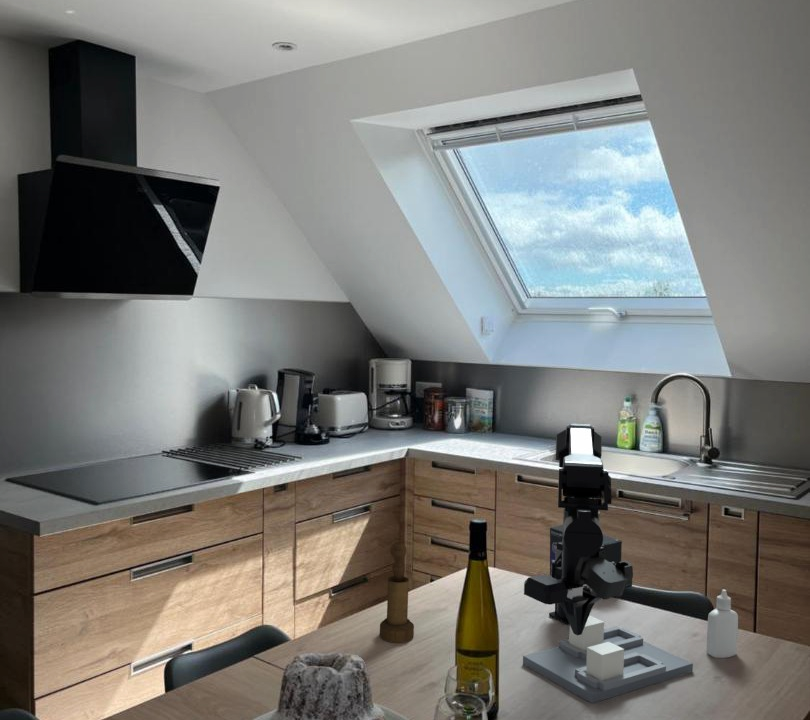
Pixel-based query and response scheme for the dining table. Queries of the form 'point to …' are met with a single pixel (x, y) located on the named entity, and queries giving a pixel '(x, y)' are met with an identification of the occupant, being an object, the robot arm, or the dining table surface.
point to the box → (609, 545)
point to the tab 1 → (588, 634)
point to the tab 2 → (605, 661)
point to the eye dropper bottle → (722, 629)
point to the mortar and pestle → (397, 602)
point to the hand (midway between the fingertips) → (577, 634)
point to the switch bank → (639, 671)
